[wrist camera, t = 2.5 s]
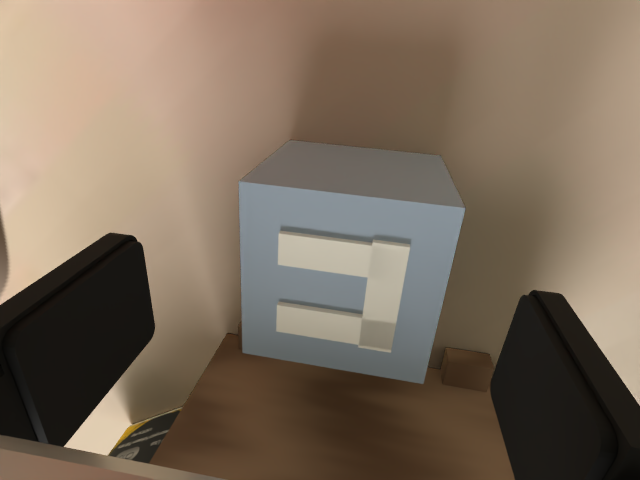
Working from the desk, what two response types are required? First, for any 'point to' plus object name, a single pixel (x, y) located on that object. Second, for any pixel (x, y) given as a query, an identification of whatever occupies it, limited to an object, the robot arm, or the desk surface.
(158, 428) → the medicine bottle
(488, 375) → the screen
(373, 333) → the letter cube
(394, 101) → the desk surface
